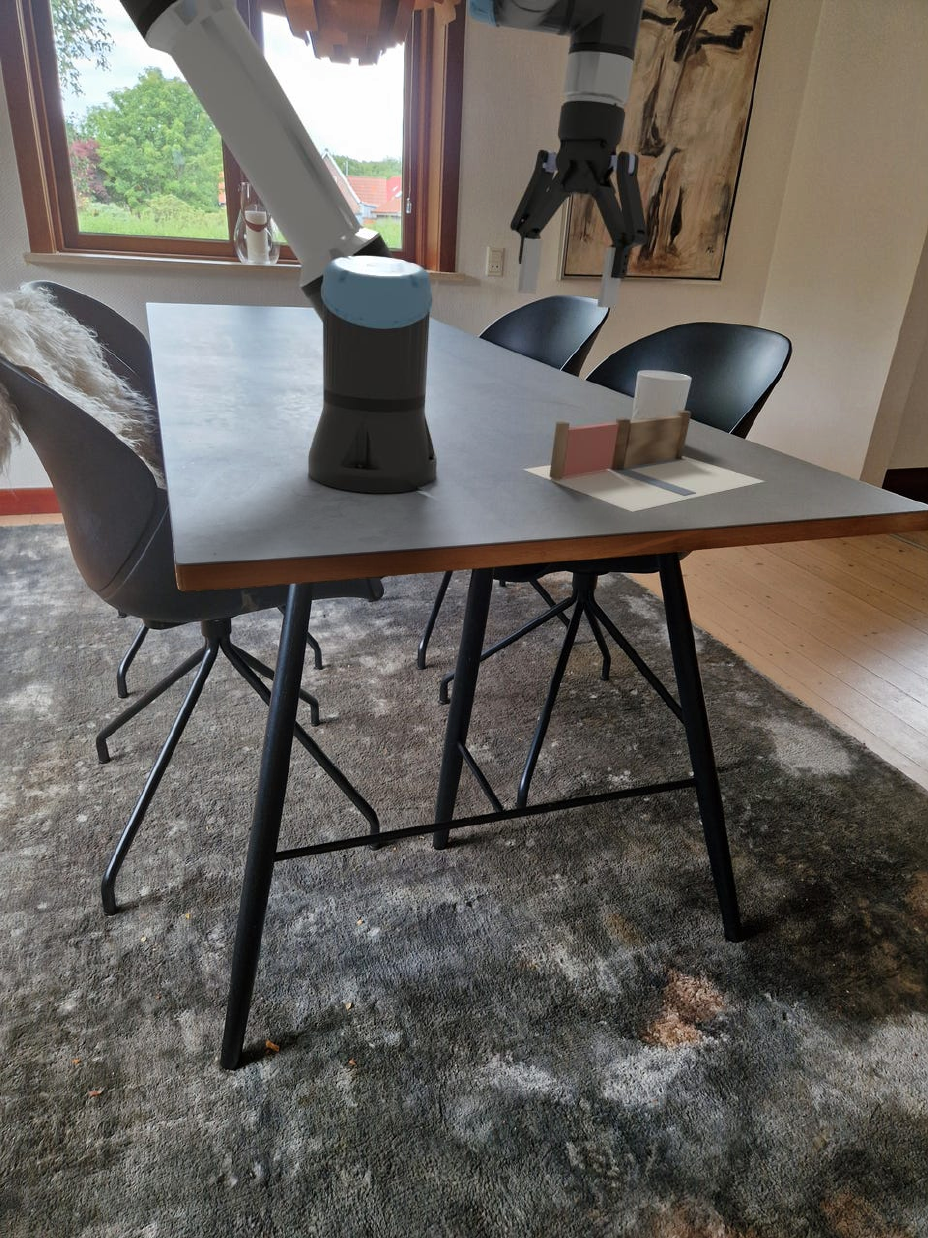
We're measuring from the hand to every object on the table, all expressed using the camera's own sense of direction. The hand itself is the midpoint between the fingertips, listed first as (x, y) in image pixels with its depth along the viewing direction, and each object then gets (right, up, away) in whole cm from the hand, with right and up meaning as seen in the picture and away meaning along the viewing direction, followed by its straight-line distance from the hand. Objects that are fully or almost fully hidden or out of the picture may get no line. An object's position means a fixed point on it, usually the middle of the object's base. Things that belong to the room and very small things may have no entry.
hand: (564, 300), depth 101 cm
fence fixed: (+12, -20, +7) cm, 24 cm away
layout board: (+11, -23, +1) cm, 25 cm away
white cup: (+16, -14, +20) cm, 29 cm away
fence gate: (+2, -22, -1) cm, 22 cm away
